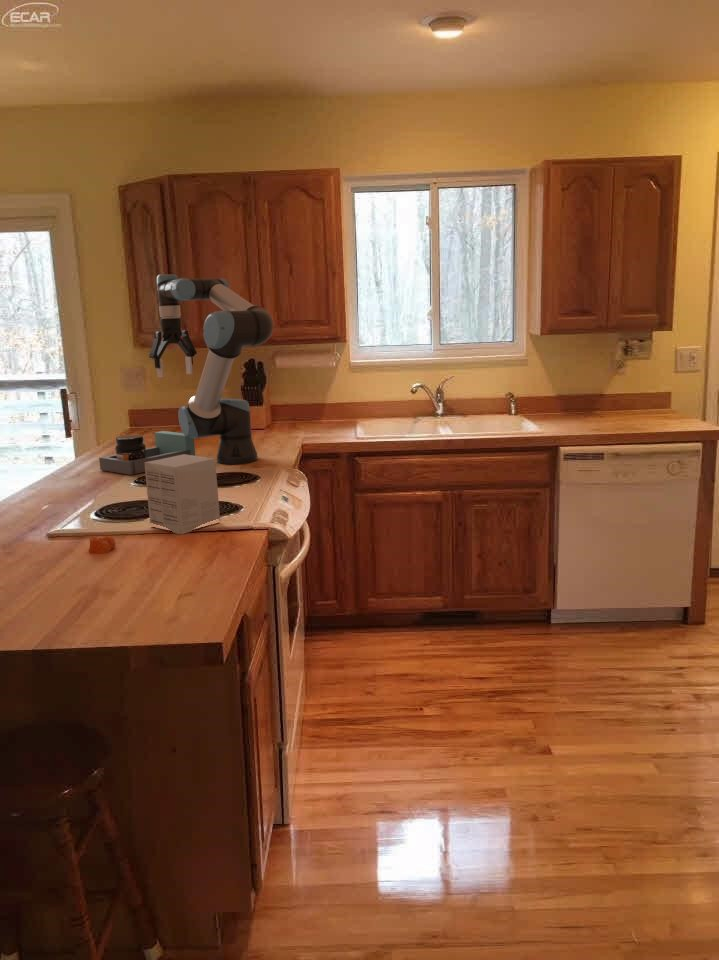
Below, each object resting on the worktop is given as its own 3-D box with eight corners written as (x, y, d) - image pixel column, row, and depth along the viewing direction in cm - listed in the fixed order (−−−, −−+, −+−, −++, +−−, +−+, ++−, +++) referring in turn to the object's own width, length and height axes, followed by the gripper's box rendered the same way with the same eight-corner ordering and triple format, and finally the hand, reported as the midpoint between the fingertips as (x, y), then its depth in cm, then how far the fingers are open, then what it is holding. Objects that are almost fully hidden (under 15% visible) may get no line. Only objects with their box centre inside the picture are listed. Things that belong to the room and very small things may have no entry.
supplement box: (189, 516, 214) (184, 453, 211) (221, 523, 206) (216, 458, 202) (149, 527, 204) (142, 461, 201) (180, 535, 196) (174, 467, 192)
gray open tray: (195, 460, 293) (193, 434, 291) (130, 474, 271) (127, 446, 269) (165, 456, 304) (163, 431, 302) (100, 469, 282) (97, 442, 280)
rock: (136, 544, 192) (135, 528, 191) (119, 560, 180) (117, 542, 179) (88, 545, 192) (87, 528, 192) (68, 561, 181) (66, 543, 180)
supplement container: (116, 473, 276) (113, 440, 273) (118, 468, 286) (114, 435, 283) (147, 471, 278) (144, 437, 276) (148, 465, 288) (144, 433, 286)
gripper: (190, 316, 300) (194, 372, 304) (135, 319, 281) (141, 378, 285) (203, 316, 295) (207, 373, 300) (148, 318, 276) (154, 378, 281)
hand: (175, 375), depth 293 cm, fingers open, 13 cm apart
